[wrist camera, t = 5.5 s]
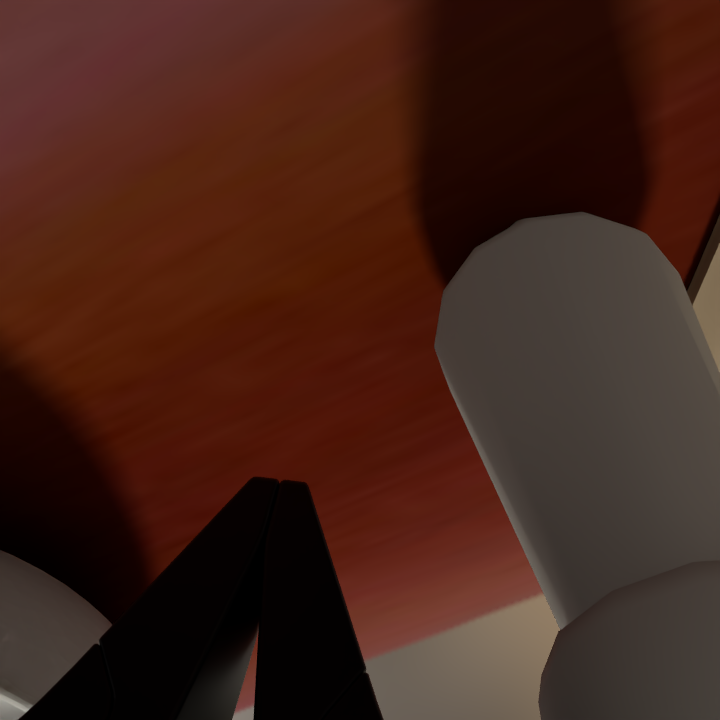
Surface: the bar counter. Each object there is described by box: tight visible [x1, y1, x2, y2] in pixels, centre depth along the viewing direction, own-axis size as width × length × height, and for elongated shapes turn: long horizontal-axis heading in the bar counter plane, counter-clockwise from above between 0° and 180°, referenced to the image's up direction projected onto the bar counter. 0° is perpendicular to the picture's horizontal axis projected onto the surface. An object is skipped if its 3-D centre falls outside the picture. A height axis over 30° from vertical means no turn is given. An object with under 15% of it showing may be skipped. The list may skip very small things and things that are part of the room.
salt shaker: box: [434, 212, 720, 720], centre depth 11 cm, size 6×6×13 cm
